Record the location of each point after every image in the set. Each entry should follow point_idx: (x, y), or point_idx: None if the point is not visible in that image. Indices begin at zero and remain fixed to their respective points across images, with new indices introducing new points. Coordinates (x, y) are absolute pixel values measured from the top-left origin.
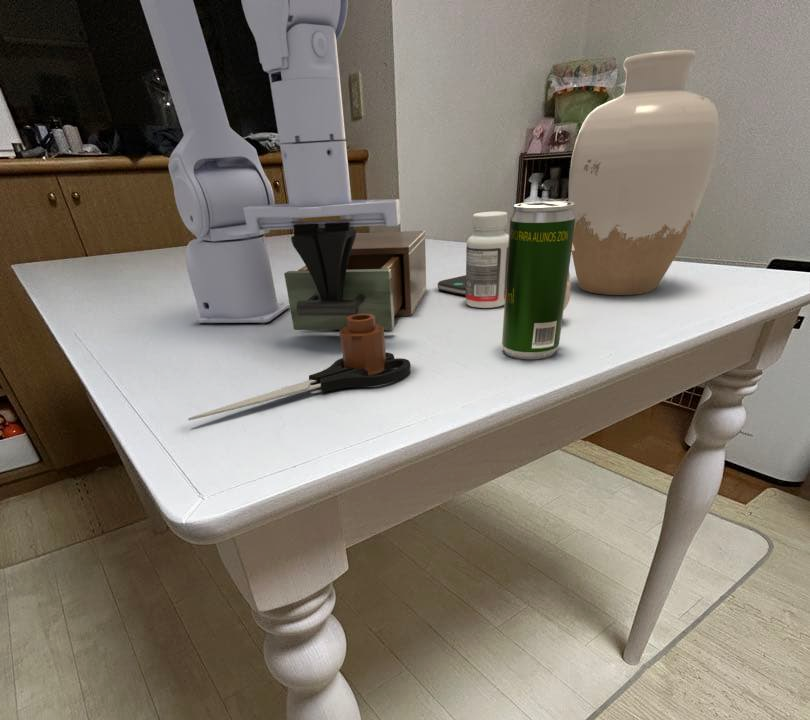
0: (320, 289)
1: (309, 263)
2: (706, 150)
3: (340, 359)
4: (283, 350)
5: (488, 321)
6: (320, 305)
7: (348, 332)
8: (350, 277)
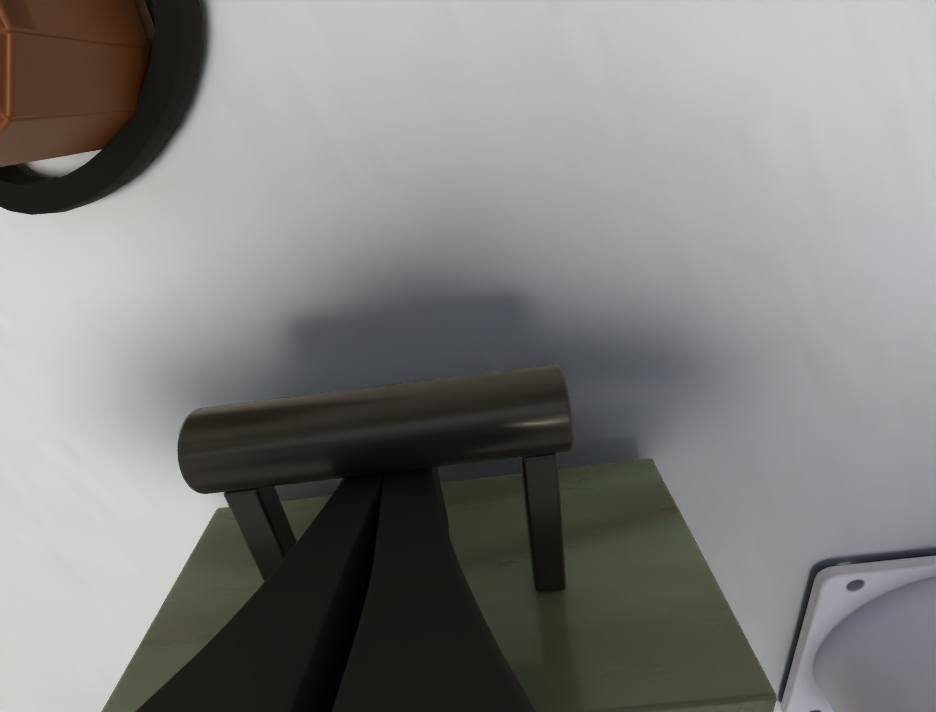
0: (415, 515)
1: (450, 661)
2: None
3: (170, 34)
4: (637, 285)
5: (10, 662)
6: (403, 408)
7: None
8: None
